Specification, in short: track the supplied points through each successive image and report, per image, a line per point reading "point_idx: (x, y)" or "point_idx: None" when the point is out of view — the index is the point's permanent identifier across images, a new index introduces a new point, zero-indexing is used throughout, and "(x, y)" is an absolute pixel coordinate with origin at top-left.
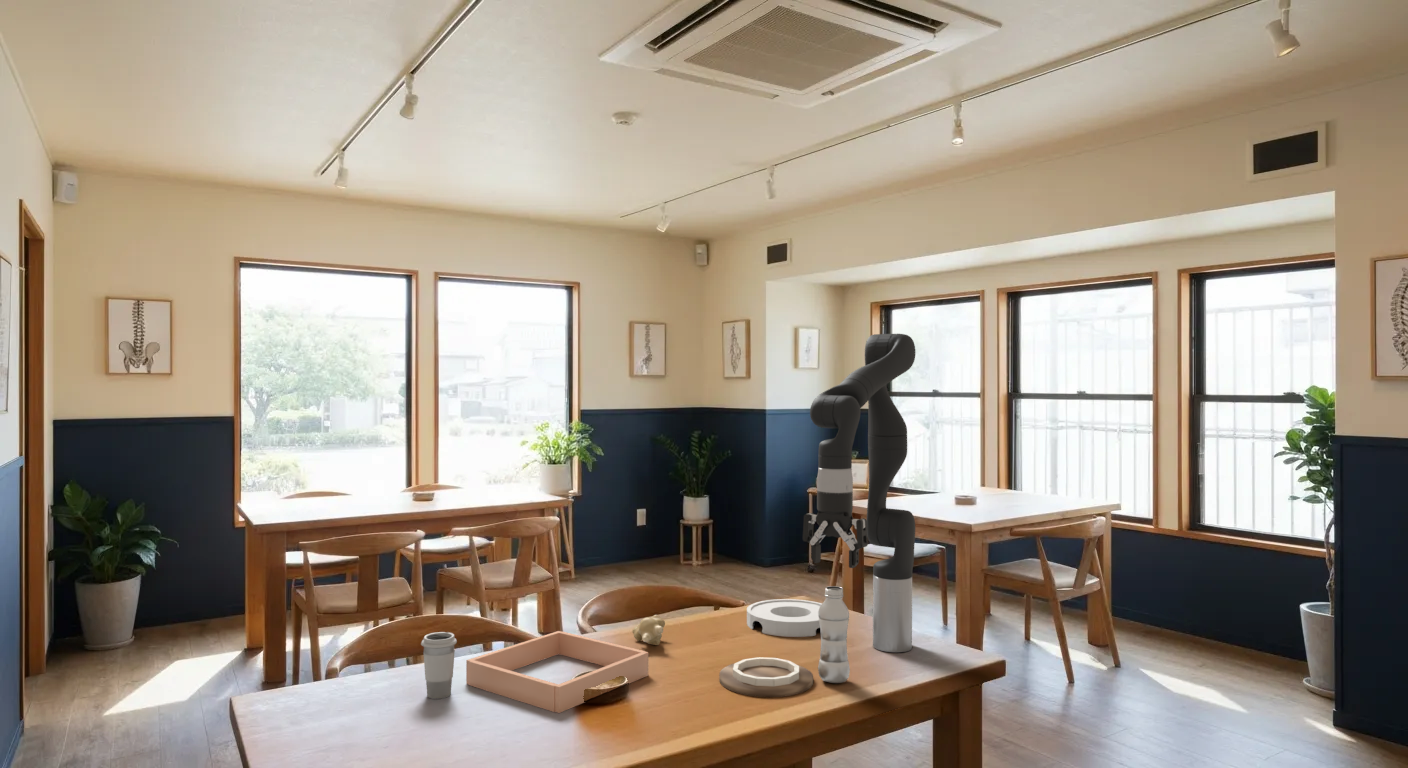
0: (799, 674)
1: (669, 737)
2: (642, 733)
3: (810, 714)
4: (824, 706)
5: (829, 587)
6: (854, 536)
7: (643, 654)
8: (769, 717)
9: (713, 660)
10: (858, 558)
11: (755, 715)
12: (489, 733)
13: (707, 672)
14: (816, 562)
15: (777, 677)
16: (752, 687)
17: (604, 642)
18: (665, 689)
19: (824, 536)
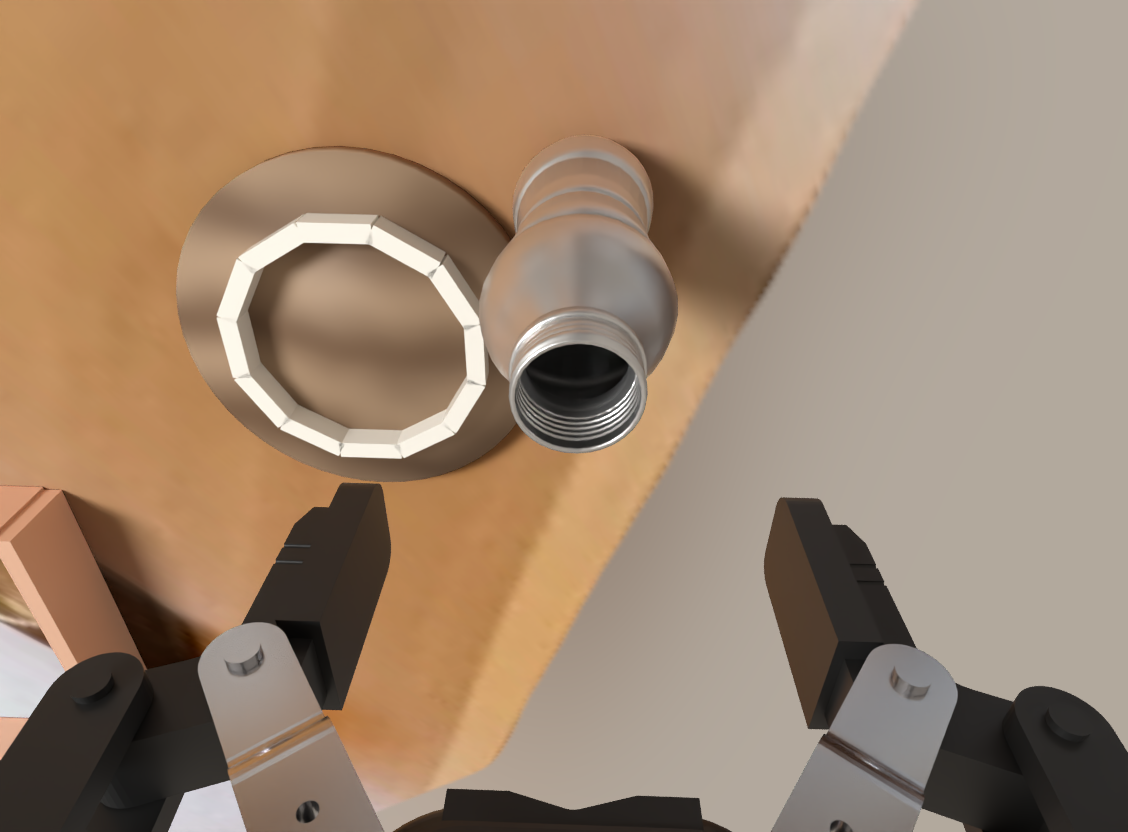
0: (457, 265)
1: (447, 715)
2: (390, 723)
3: (650, 492)
4: (660, 425)
5: (522, 370)
6: (915, 809)
7: (20, 560)
8: (563, 557)
9: (46, 248)
10: (879, 579)
11: (525, 563)
12: (185, 815)
13: (156, 372)
14: (388, 550)
15: (454, 414)
16: (410, 460)
17: None
18: (203, 543)
19: (329, 726)
